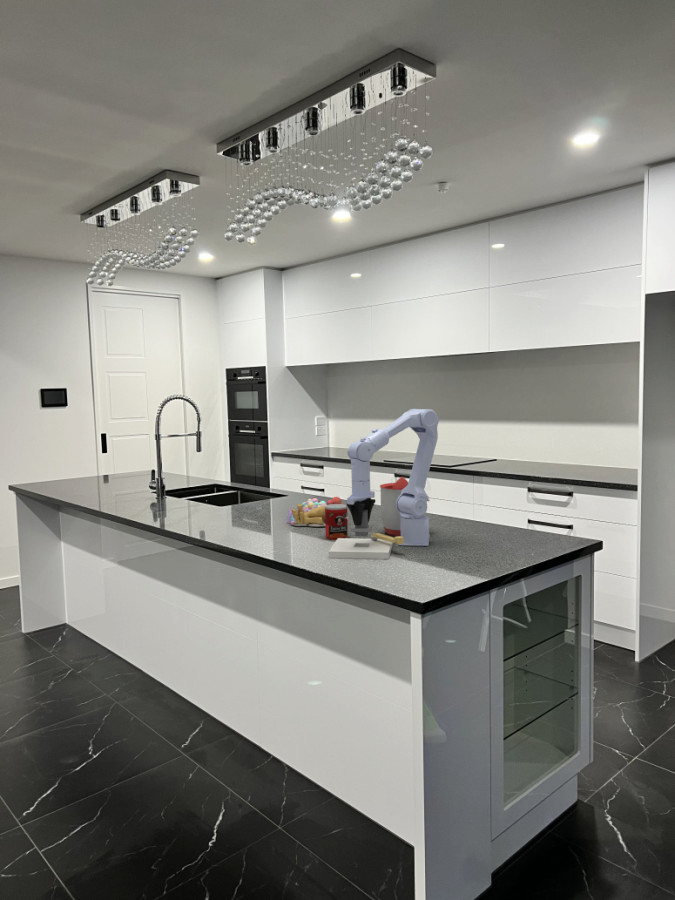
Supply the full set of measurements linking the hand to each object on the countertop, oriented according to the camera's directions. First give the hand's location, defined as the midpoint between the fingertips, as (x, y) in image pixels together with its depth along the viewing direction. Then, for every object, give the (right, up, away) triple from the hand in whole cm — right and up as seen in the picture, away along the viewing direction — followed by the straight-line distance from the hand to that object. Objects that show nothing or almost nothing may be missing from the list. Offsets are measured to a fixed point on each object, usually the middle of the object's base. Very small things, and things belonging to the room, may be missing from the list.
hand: (361, 523), depth 209 cm
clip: (+8, -6, +2) cm, 10 cm away
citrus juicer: (+16, -6, +25) cm, 31 cm away
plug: (0, -4, 0) cm, 4 cm away
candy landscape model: (-15, -5, +50) cm, 53 cm away
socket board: (0, -9, +1) cm, 9 cm away
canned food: (-8, -7, +21) cm, 24 cm away
